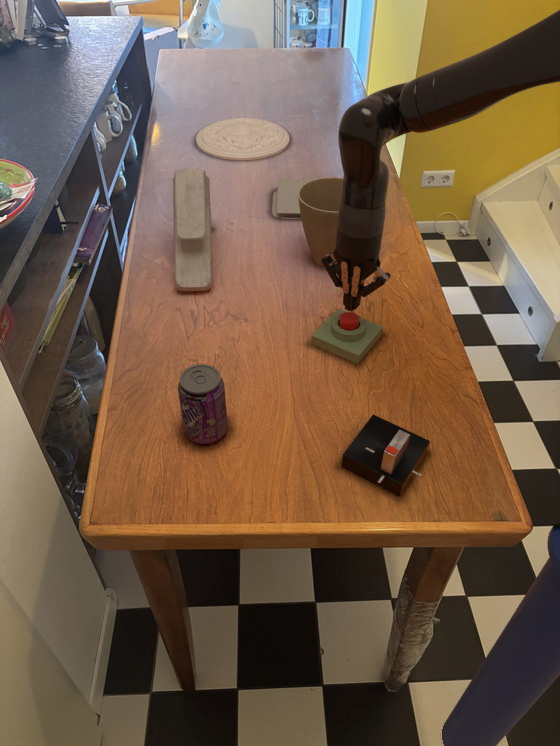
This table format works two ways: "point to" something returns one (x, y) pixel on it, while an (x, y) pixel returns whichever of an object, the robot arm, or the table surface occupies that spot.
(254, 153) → the ceiling medallion
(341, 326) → the button
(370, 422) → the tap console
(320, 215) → the plant pot
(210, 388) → the beverage can
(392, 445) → the rotary knob
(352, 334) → the switch
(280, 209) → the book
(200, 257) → the leaning slabs
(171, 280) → the table surface
